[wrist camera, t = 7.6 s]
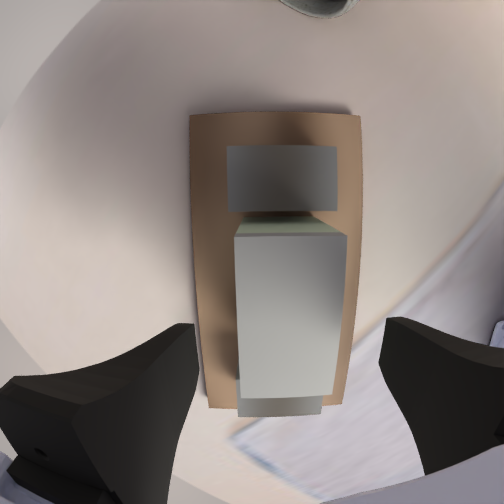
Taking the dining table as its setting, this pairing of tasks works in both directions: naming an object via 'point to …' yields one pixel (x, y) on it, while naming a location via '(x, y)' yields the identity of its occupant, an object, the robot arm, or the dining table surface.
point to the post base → (268, 205)
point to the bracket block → (288, 305)
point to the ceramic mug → (321, 7)
